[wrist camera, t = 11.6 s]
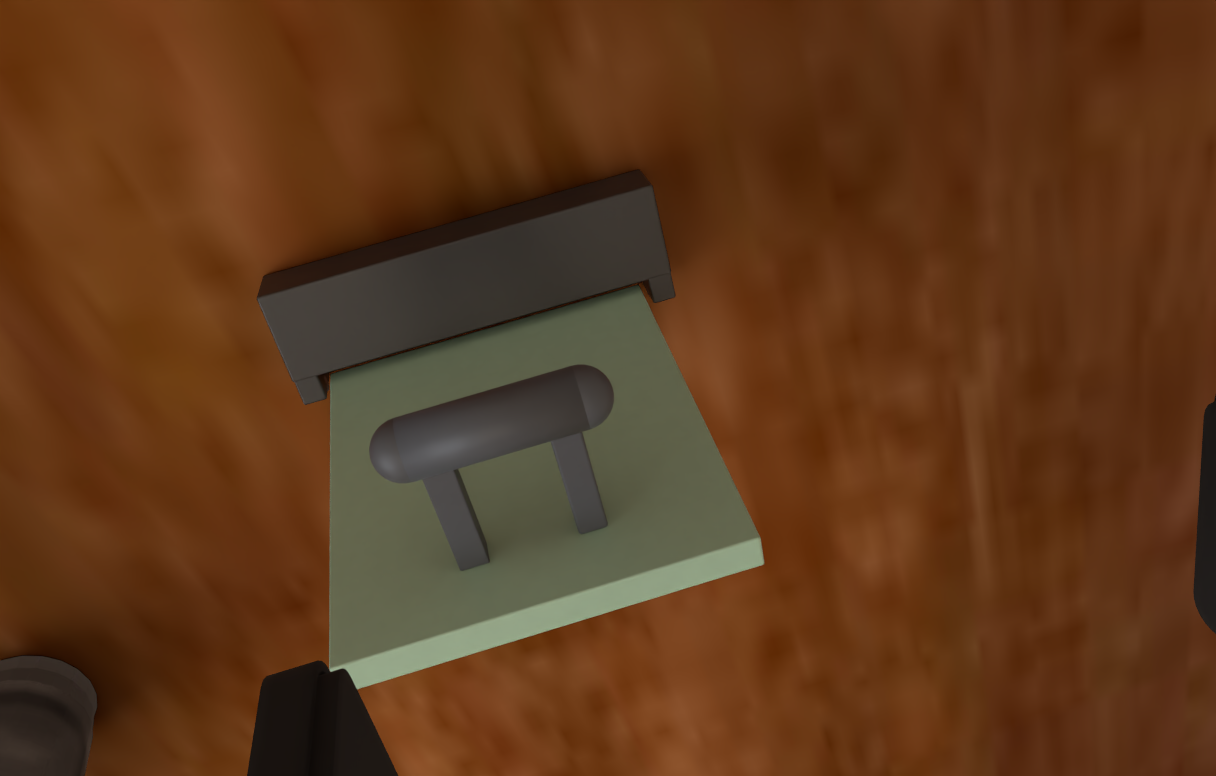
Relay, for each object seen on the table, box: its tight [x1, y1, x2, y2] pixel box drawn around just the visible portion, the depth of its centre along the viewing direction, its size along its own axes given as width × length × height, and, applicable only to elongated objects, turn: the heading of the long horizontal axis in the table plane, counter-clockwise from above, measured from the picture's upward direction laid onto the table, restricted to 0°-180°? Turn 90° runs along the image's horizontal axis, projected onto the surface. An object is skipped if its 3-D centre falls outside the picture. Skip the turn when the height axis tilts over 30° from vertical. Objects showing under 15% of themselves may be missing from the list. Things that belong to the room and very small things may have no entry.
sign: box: [329, 285, 764, 689], centre depth 30 cm, size 13×11×6 cm
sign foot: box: [257, 170, 675, 405], centre depth 36 cm, size 4×13×2 cm, turn 103°
